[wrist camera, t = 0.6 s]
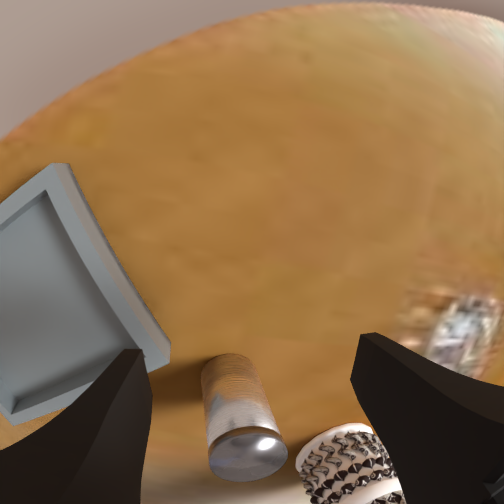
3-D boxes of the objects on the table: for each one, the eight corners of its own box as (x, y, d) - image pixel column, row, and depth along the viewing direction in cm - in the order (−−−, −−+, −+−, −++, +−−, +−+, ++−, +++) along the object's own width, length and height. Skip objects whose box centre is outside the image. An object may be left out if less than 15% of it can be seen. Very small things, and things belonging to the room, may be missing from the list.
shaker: (217, 405, 22) (232, 489, 14) (189, 368, 20) (194, 455, 13) (266, 383, 22) (298, 463, 14) (241, 343, 21) (269, 425, 13)
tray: (22, 407, 19) (13, 425, 16) (-63, 278, 15) (-81, 289, 13) (170, 342, 20) (169, 363, 17) (68, 163, 16) (52, 162, 13)
